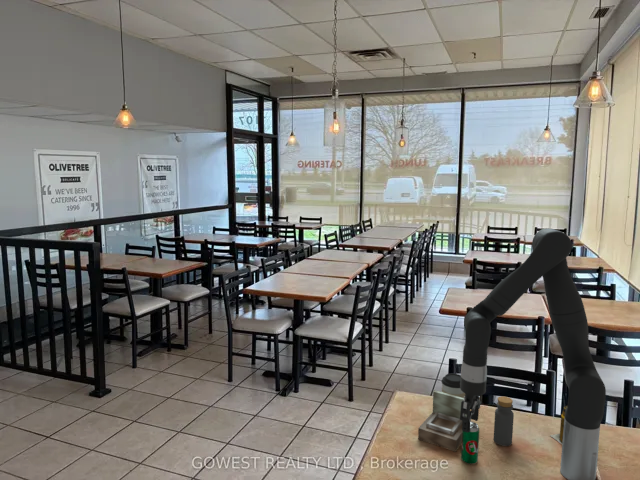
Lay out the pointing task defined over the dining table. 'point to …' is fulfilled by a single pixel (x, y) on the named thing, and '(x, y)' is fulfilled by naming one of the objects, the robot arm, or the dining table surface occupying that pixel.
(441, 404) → the display stand
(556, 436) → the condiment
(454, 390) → the coffee cup
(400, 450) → the dining table surface
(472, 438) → the soda can
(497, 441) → the bottle
